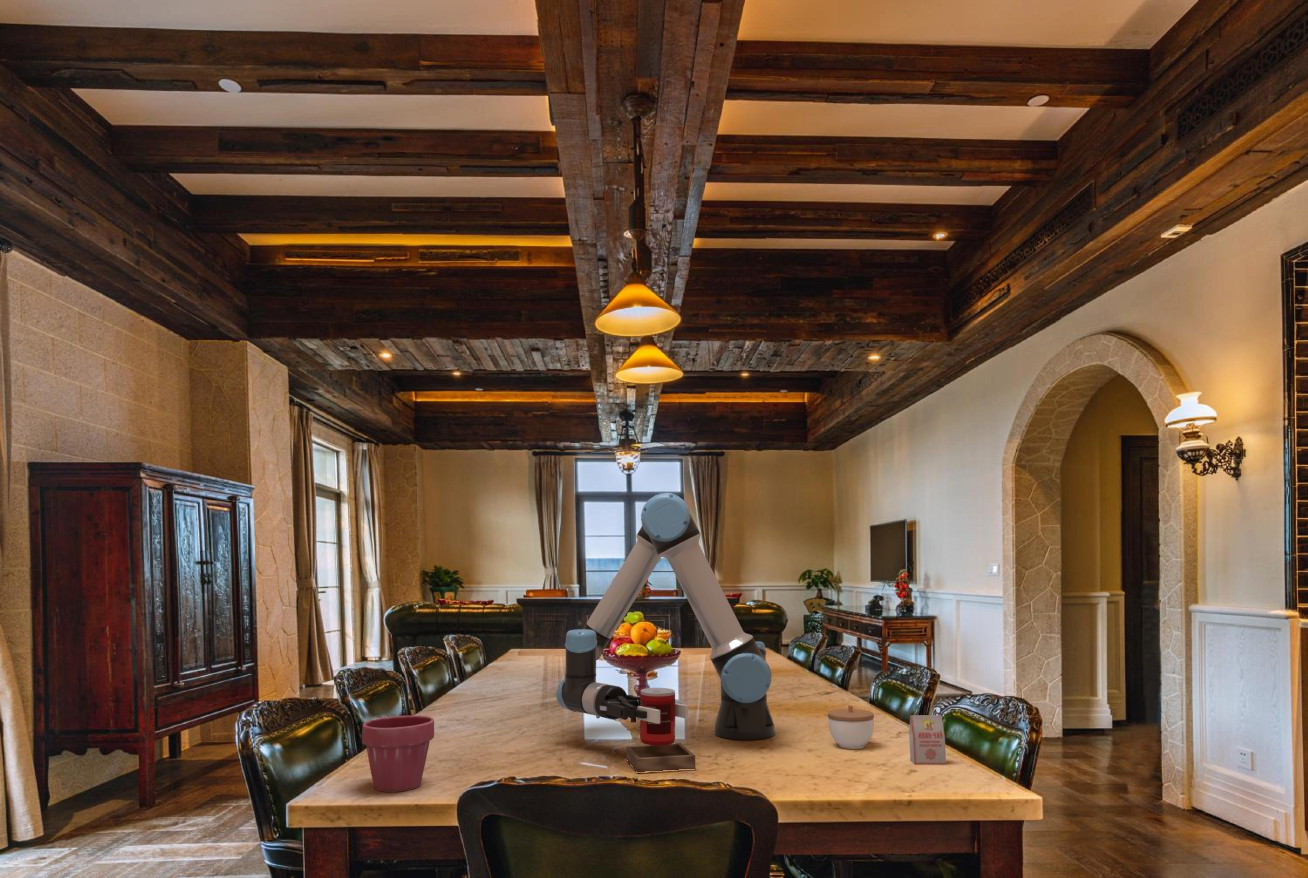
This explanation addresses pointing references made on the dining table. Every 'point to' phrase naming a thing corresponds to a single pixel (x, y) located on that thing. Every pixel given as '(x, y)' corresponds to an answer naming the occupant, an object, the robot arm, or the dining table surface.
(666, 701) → the canned food
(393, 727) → the plant pot
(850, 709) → the lidded jar
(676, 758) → the walnut tray
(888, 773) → the dining table surface
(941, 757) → the white tea box
